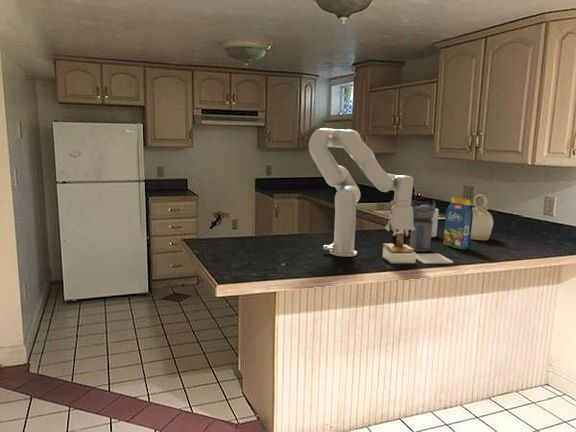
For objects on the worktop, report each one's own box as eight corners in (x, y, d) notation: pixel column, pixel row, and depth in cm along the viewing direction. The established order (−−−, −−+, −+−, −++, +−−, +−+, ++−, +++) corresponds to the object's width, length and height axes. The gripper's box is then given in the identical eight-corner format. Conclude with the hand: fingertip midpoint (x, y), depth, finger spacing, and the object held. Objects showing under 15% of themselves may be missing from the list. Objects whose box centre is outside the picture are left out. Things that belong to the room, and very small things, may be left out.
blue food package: (451, 243, 247) (455, 197, 242) (469, 248, 236) (474, 200, 232) (442, 244, 244) (447, 197, 239) (461, 249, 233) (465, 200, 229)
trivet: (423, 263, 204) (423, 261, 204) (410, 255, 218) (410, 253, 218) (453, 263, 206) (453, 261, 206) (437, 255, 220) (438, 253, 220)
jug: (478, 234, 273) (482, 192, 269) (497, 240, 259) (502, 196, 254) (456, 235, 268) (460, 192, 264) (475, 241, 254) (479, 196, 250)
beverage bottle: (405, 246, 237) (409, 197, 233) (432, 249, 232) (436, 199, 228) (402, 250, 227) (406, 199, 223) (431, 253, 223) (435, 202, 219)
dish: (391, 263, 203) (392, 253, 202) (382, 257, 213) (383, 247, 212) (415, 263, 204) (416, 253, 204) (404, 256, 215) (405, 247, 214)
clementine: (396, 259, 207) (397, 252, 206) (393, 257, 210) (394, 250, 209) (403, 259, 207) (404, 252, 207) (400, 257, 211) (401, 250, 210)
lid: (391, 251, 202) (393, 235, 201) (382, 245, 212) (384, 230, 211) (414, 251, 204) (415, 235, 203) (404, 246, 214) (405, 230, 213)
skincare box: (436, 236, 266) (439, 208, 263) (434, 237, 261) (436, 209, 258) (401, 231, 277) (403, 204, 274) (397, 232, 272) (399, 205, 269)
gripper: (387, 204, 200) (384, 245, 203) (423, 205, 202) (419, 246, 206) (381, 201, 207) (377, 241, 210) (416, 202, 210) (412, 242, 213)
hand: (398, 243), depth 208 cm, fingers closed on lid, 4 cm apart
